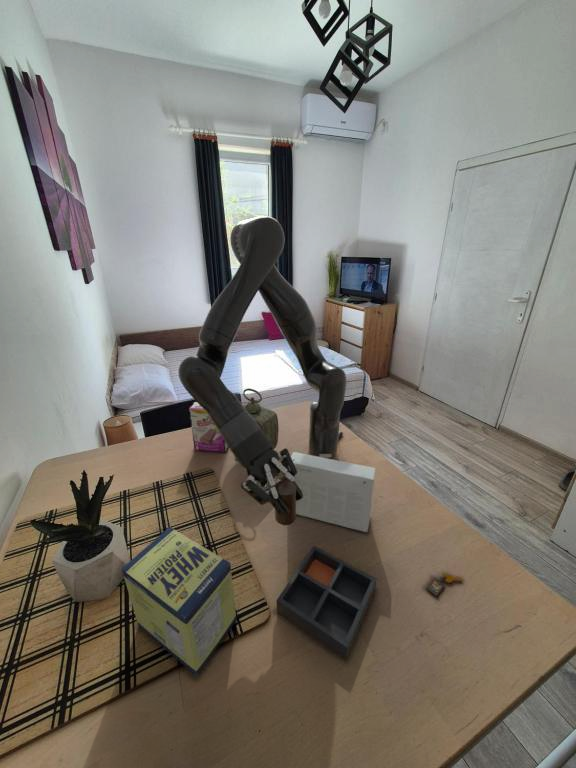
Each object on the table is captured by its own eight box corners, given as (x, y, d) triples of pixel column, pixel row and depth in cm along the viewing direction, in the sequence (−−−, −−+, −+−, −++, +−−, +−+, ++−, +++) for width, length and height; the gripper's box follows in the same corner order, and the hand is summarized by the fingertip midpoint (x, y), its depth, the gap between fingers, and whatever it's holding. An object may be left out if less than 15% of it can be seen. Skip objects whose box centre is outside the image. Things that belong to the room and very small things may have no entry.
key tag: (434, 597, 65) (435, 595, 65) (422, 584, 67) (423, 582, 67) (462, 580, 68) (463, 578, 68) (450, 568, 71) (450, 566, 70)
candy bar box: (193, 451, 110) (188, 408, 104) (199, 442, 115) (193, 401, 108) (226, 453, 109) (222, 410, 103) (229, 444, 114) (226, 403, 107)
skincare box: (369, 517, 84) (376, 467, 78) (367, 533, 79) (374, 481, 73) (292, 498, 90) (293, 450, 84) (286, 512, 86) (286, 462, 79)
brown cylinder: (282, 506, 71) (282, 477, 68) (299, 514, 69) (300, 485, 66) (270, 519, 68) (270, 489, 65) (288, 528, 66) (288, 498, 63)
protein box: (179, 579, 68) (169, 525, 62) (238, 619, 61) (232, 562, 55) (136, 626, 60) (118, 568, 54) (197, 678, 53) (186, 618, 47)
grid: (313, 556, 74) (313, 545, 72) (374, 590, 66) (376, 578, 65) (276, 611, 62) (276, 599, 61) (346, 660, 55) (347, 647, 54)
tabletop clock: (230, 457, 107) (224, 388, 97) (247, 444, 114) (243, 378, 104) (265, 472, 100) (263, 400, 90) (281, 457, 107) (281, 388, 97)
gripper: (229, 448, 59) (284, 526, 58) (275, 416, 70) (322, 481, 69) (211, 461, 64) (262, 534, 63) (256, 429, 75) (300, 490, 74)
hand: (293, 505), depth 66 cm, fingers closed on brown cylinder, 4 cm apart
